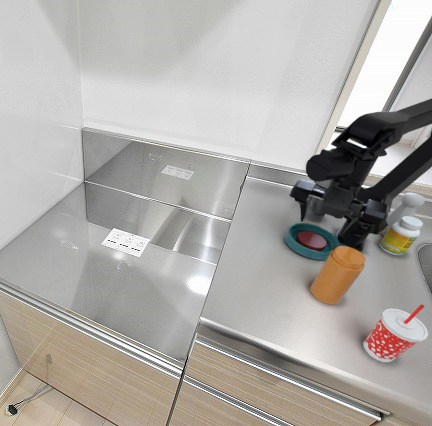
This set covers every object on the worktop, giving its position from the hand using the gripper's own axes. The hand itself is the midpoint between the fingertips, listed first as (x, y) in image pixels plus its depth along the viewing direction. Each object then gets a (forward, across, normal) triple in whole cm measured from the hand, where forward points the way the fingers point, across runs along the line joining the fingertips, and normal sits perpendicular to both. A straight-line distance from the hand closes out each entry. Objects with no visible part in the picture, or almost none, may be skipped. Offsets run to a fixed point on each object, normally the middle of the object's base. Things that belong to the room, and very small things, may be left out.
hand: (321, 228), depth 74 cm
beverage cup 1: (+7, -3, +16) cm, 17 cm away
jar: (+7, +6, -14) cm, 17 cm away
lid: (+5, -1, +1) cm, 5 cm away
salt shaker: (+7, +15, +20) cm, 26 cm away
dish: (+7, -1, +1) cm, 7 cm away
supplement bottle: (+7, +16, +13) cm, 22 cm away
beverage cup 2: (+7, +16, -23) cm, 29 cm away
